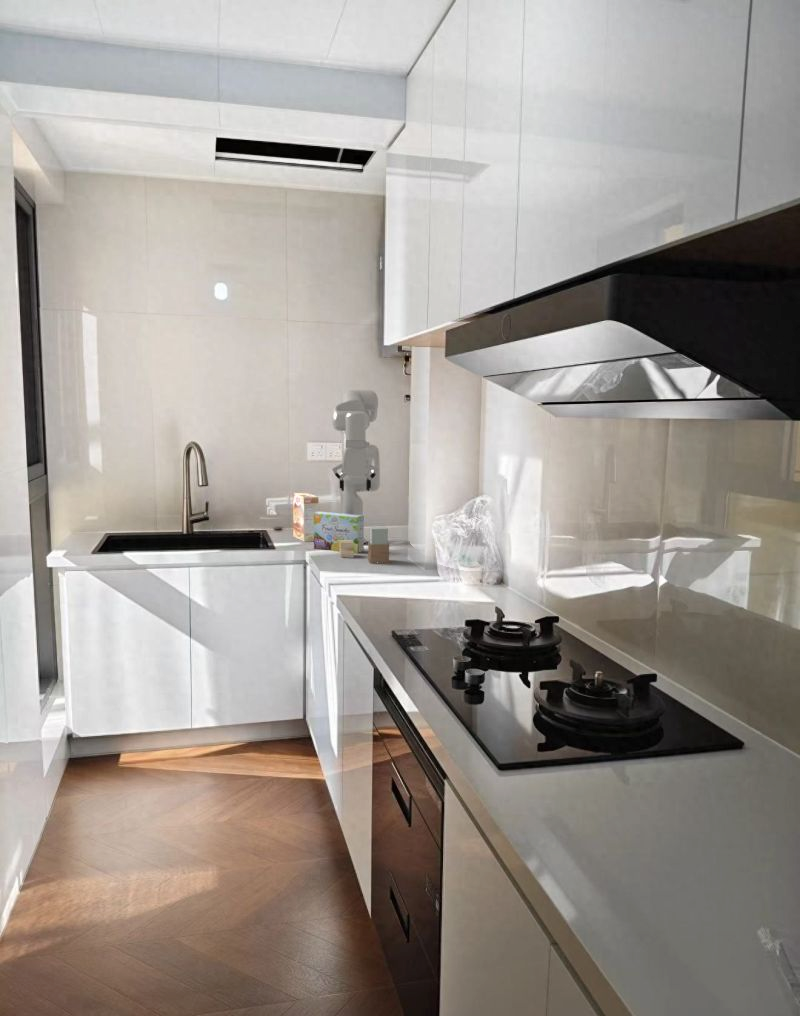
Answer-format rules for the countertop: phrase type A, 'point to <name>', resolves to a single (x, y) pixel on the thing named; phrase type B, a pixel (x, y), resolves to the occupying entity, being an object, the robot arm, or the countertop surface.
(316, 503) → the coffeecake box
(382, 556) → the walnut base block
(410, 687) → the countertop surface
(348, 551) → the ash block
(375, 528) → the sage top block
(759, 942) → the countertop surface
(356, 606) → the countertop surface
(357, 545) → the snack box
